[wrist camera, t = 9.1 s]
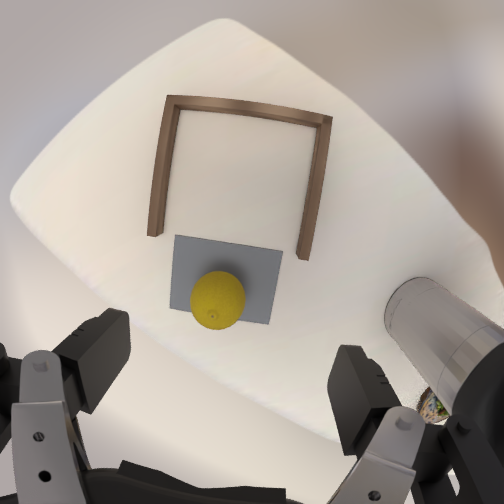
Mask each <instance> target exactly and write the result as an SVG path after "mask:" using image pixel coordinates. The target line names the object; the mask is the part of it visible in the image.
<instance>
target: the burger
mask: <svg viewBox="0 0 504 504" xmlns="http://www.w3.org/2000/svg"><path fill="white" fill-rule="evenodd" d="M421 403H422V404H421V407H420V409H419V411H418V413H419V414H420V415H421V416H422V417H423V419H424V421H425V423H427V424H433V423H437V422H440V421H442V420H444V419H446V418H448V417H450V414H449V413H448V411H447V410H446V408H445V407H444V406H443V404H442V403H441V401H440V400H439V399H438V398H437V396H436V395H435V393H434V392H433V391H432V389H431V388H430V387H428V388H427V389H426V391H425V392H424V393H423V394H422V395H421Z"/></svg>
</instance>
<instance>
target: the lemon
mask: <svg viewBox="0 0 504 504" xmlns="http://www.w3.org/2000/svg"><path fill="white" fill-rule="evenodd" d="M245 301H246V297H245V291H244V288H243V286H242V284H241V283H240V281H239V280H238V279H237V278H236V277H235V276H233V275H232V274H230V273H227V272H223V271H213V272H210V273H207V274H205V275H204V276H202V277H201V278H200V279H199V280H198V281H197V282H196V283H195V285H194V287H193V289H192V292H191V297H190V307H191V311H192V314H193V316H194V317H195V319H196V320H197V321H198V322H199V323H200V324H201V325H203V326H204V327H206V328H209V329H213V330H221V329H225V328H227V327H230V326H231V325H233V324H234V323H235V322H236V321H237V320H238V319H239V318H240V316H241V315H242V312H243V310H244V308H245Z"/></svg>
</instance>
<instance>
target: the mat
mask: <svg viewBox="0 0 504 504" xmlns="http://www.w3.org/2000/svg"><path fill="white" fill-rule="evenodd" d="M282 253H283V251H277V250H271V249H264V248H258V247H252V246H245V245H239V244H232V243H226V242H219V241H213V240H206V239H200V238H193V237H187V236H180V235H175V242H174V253H173V265H172V278H171V293H170V308H171V309H176V310H181V311H187V312H192V311H191V307H190V297H191V292H192V289H193V287H194V285H195V283H196V282H197V281H198V280H199V279H200V278H201V277H202V276H204V275H205V274H207V273H210V272H213V271H223V272H227V273H230V274H232V275H233V276H235V277H236V278H237V279H238V280H239V281H240V283H241V284H242V286H243V288H244V291H245V297H246V301H245V308H244V310H243V312H242V315H241V316H240V318H239V319H238V320H240V321H247V322H254V323H261V324H268V325H269V320H270V315H271V310H272V305H273V300H274V295H275V290H276V285H277V279H278V274H279V269H280V263H281V258H282Z"/></svg>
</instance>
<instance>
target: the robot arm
mask: <svg viewBox="0 0 504 504" xmlns="http://www.w3.org/2000/svg"><path fill="white" fill-rule="evenodd" d="M385 326H386V329H387V331H388V333H389V334H390V335H391V337H392V338H393V339H394V340H395V342H396V343H397V344H398V346H399V347H400V348H401V350H402V351H403V352H404V354H405V355H406V356H407V357H408V359H409V360H410V361H411V363H412V364H413V365H414V367H415V368H416V369H417V370H418V372H419V373H420V374H421V376H422V377H423V378H424V380H425V381H426V383H427V384H428V385H429V387H430V388H431V389H432V391H433V392H434V393H435V395H436V396H437V398H438V399H439V400H440V401H441V403H442V404H443V406H444V407H445V408H446V410H447V411H448V413H449V414H450V417H449V418H448V419H447V421H446V422H445V424H444V425H435V424H427V423H425V421H424V419H423V417H422V416H421V415H420V414H419V413H418V412H417V411H415V410H414V409H411V408H408V407H404V406H402V405H401V403H400V401H399V399H398V397H397V395H396V393H395V392H394V390H393V388H392V386H391V384H389V381H388V379H387V377H385V374H384V372H383V370H382V368H381V367H380V366H379V365H378V364H377V363H376V362H375V361H373V360H372V359H368V358H367V356H366V354H365V353H364V351H363V349H362V347H361V346H356V345H341V346H340V347H339V349H338V352H337V355H336V358H335V361H334V364H333V367H332V369H331V372H330V375H329V379H328V385H327V390H328V395H329V399H330V402H331V406H332V410H333V414H334V417H335V421H336V425H337V429H338V433H339V437H340V441H341V445H342V449H343V453H344V455H345V456H348V455H356V456H357V461H356V463H355V464H354V466H353V467H352V469H351V470H350V472H349V473H348V475H347V476H346V478H345V479H344V481H343V482H342V483H341V485H340V486H339V488H338V489H337V490H336V492H335V493H334V495H333V496H332V497H331V499H330V500H329V501H328V503H327V504H404V502H405V500H406V497H407V495H408V492H409V490H410V489H411V492H412V495H413V499H414V502H415V504H504V329H503V328H501V327H500V326H498V325H497V324H495V323H494V322H493V321H491V320H490V319H488V318H487V317H486V316H484V315H483V314H481V313H480V312H479V311H477V310H476V309H474V308H473V307H471V306H470V305H469V304H467V303H466V302H464V301H463V300H461V299H460V298H458V297H457V296H455V295H454V294H452V293H451V292H449V291H448V290H446V289H445V288H443V287H442V286H440V285H439V284H437V283H436V282H434V281H432V280H430V279H428V278H423V277H422V278H415V279H412V280H410V281H408V282H406V283H404V284H403V285H402V286H401V287H400V288H398V290H397V291H396V292H395V293H394V294H393V296H392V297H391V299H390V301H389V303H388V305H387V308H386V312H385ZM130 351H131V342H130V326H129V315H128V313H127V312H125V311H121V310H117V309H112V308H108V309H107V310H106V311H104V312H103V313H102V314H101V315H100V316H99V317H94V318H92V319H89V320H87V321H85V322H83V323H82V324H81V325H80V326H79V327H78V328H77V329H76V330H74V331H73V332H72V334H71V335H69V336H68V337H67V338H66V339H65V340H63V341H62V342H61V343H60V344H59V345H58V346H57V347H56V348H55V349H53V351H51V352H50V351H46V350H38V351H34V352H31V353H29V354H28V355H26V356H25V357H24V358H23V360H22V359H16V358H11V357H8V356H7V353H6V350H5V347H4V345H3V344H2V343H0V453H1V452H2V450H3V449H4V447H5V446H6V444H7V443H8V441H9V440H10V439H11V437H12V454H13V465H14V474H15V482H16V489H17V493H14V494H10V495H6V496H2V497H0V504H303V503H300V502H297V501H294V500H291V499H286V489H285V488H265V487H251V486H240V487H226V488H198V487H195V486H192V485H190V484H188V483H185V482H183V481H181V480H178V479H176V478H174V477H172V476H170V475H168V474H165V473H163V472H161V471H158V470H155V469H151V468H147V467H144V466H141V465H137V464H134V463H131V462H128V461H125V460H122V462H121V464H120V467H119V469H115V468H97V469H92V468H91V466H90V463H89V461H88V457H87V455H86V451H85V447H84V443H83V440H82V436H81V432H80V428H79V423H78V419H77V417H76V415H77V413H78V412H79V411H80V410H81V411H83V412H86V413H88V414H92V413H93V411H94V410H95V408H96V407H97V405H98V404H99V402H100V400H101V399H102V398H103V396H104V395H105V393H106V392H107V390H108V389H109V387H110V386H111V384H112V383H113V381H114V380H115V378H116V377H117V376H118V374H119V373H120V371H121V370H122V368H123V367H124V365H125V364H126V362H127V361H128V359H129V356H130ZM452 468H453V470H454V472H455V475H456V477H457V479H458V481H459V485H460V489H459V493H458V495H457V496H456V494H455V491H454V489H453V487H452V484H451V481H450V479H449V477H448V474H447V473H448V472H449V471H450V470H451V469H452Z"/></svg>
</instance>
